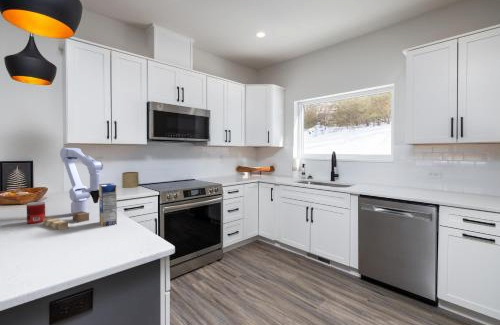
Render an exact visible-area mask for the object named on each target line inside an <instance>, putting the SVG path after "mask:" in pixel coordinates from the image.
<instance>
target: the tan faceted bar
mask: <svg viewBox="0 0 500 325" xmlns="http://www.w3.org/2000/svg"><path fill="white" fill-rule="evenodd" d="M42 223H43V226H47V227H50V228H52V229H56V230H57V231H61V230H65V229H69V222H68V221H65V220H61V219H59V218H56V217H48V218H45V219H43V222H42Z"/></svg>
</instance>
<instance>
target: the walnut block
mask: <svg viewBox="0 0 500 325" xmlns="http://www.w3.org/2000/svg"><path fill="white" fill-rule="evenodd" d="M87 212H88V211H87ZM87 212H83V211H81V212H75V213H73V215H72V221H74V222H77V223H84V222H88V221H90V214H89V213H90V212H89V213H87Z"/></svg>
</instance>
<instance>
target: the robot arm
mask: <svg viewBox="0 0 500 325" xmlns="http://www.w3.org/2000/svg"><path fill="white" fill-rule="evenodd" d="M59 152H60V153H59V155H60V158H61V160H62V162H63V163H64V166H65V170H66V172H67V176H68V178H69V180H70V183H71V186H72V187H71V188H70V189H69V191H68V193H69V199H70V200H71V203H70V213H69V215H71V216H73V213H75V212H81V211H83V212H87V213H89V215H90V214H91V212H88V200H89V198H90V197H91V199H92V200H93V201H92V202H93V203H94V204H98V203H99V184H102V176H101V171H102V170H103V167H104V164H103V162H102V161H101V160H96V159H95V158H93V157H92V156H91V155H85V154H84V153H83V152H82V149H81V148H80V147H62V148H60V151H59ZM79 160H80V162H81V163H82V164H83V165H84V166H86V168H87V170H88V174H89V187H88V186H86V185H84V184H83V182H82V180H81V177H80V175H79V171H78V169H77V166H76V163H77V162H78V161H79Z"/></svg>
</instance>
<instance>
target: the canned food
mask: <svg viewBox="0 0 500 325" xmlns="http://www.w3.org/2000/svg"><path fill="white" fill-rule="evenodd" d="M43 219H46V202H45V201H34V202H27V203H26V222H27V224H29V225H33V224H34V225H36V224H40V223H44V222H43Z"/></svg>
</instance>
